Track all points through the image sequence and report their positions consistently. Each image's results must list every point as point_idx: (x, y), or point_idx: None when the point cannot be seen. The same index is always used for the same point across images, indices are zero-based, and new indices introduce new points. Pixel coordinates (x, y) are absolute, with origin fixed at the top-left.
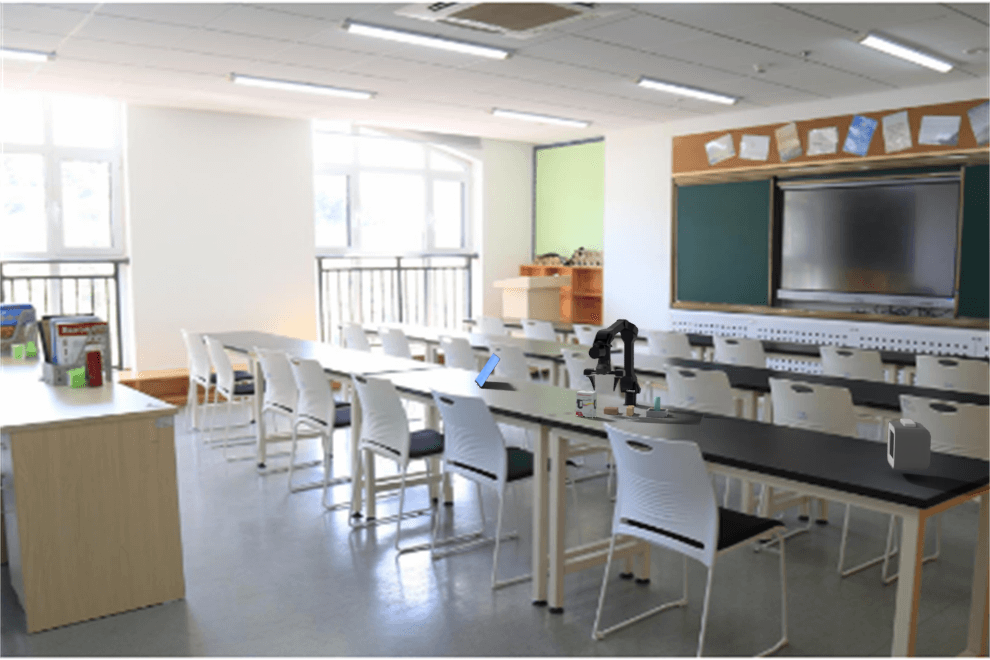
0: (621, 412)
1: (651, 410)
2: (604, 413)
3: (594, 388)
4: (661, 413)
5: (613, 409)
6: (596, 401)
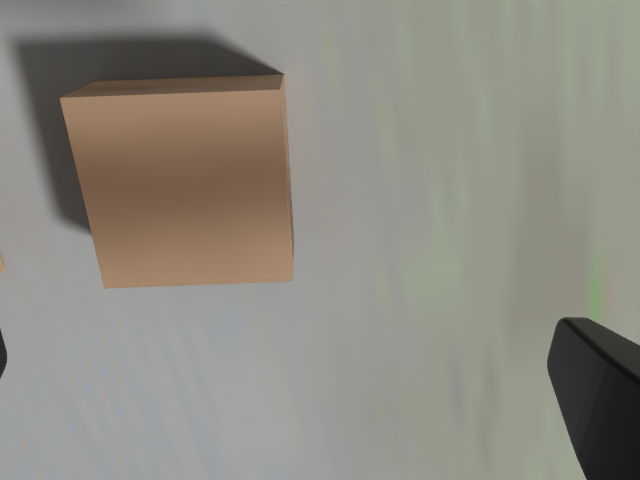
0: None
1: None
2: (272, 77)
3: (591, 341)
4: None
5: (116, 93)
6: None
